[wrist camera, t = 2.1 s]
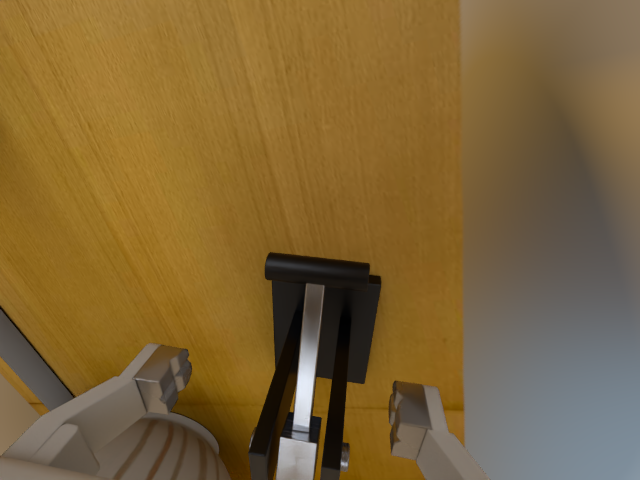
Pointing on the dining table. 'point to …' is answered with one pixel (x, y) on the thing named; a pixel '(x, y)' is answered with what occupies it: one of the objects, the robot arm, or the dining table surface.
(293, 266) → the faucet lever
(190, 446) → the decorative bowl
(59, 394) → the gray half cylinder
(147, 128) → the dining table surface
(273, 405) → the lever stand
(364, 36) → the dining table surface
